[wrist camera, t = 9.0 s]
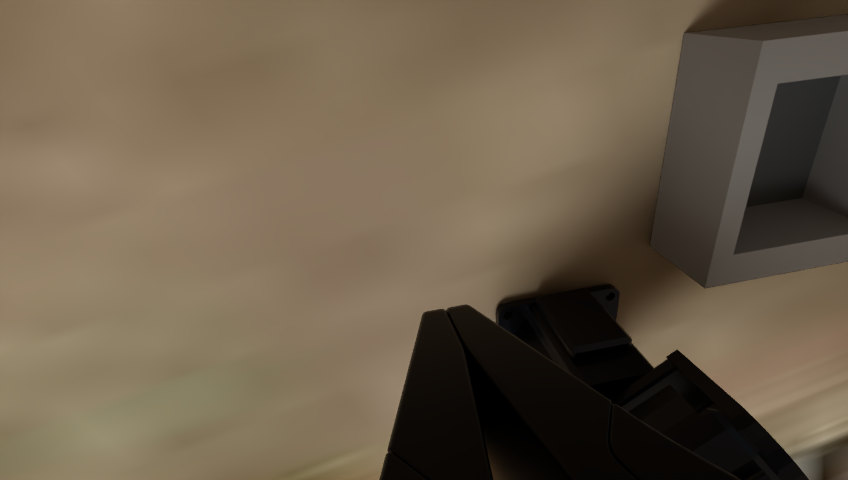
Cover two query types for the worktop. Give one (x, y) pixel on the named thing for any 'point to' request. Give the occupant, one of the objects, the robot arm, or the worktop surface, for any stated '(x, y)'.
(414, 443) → the robot arm
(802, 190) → the trap deck
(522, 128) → the worktop surface
